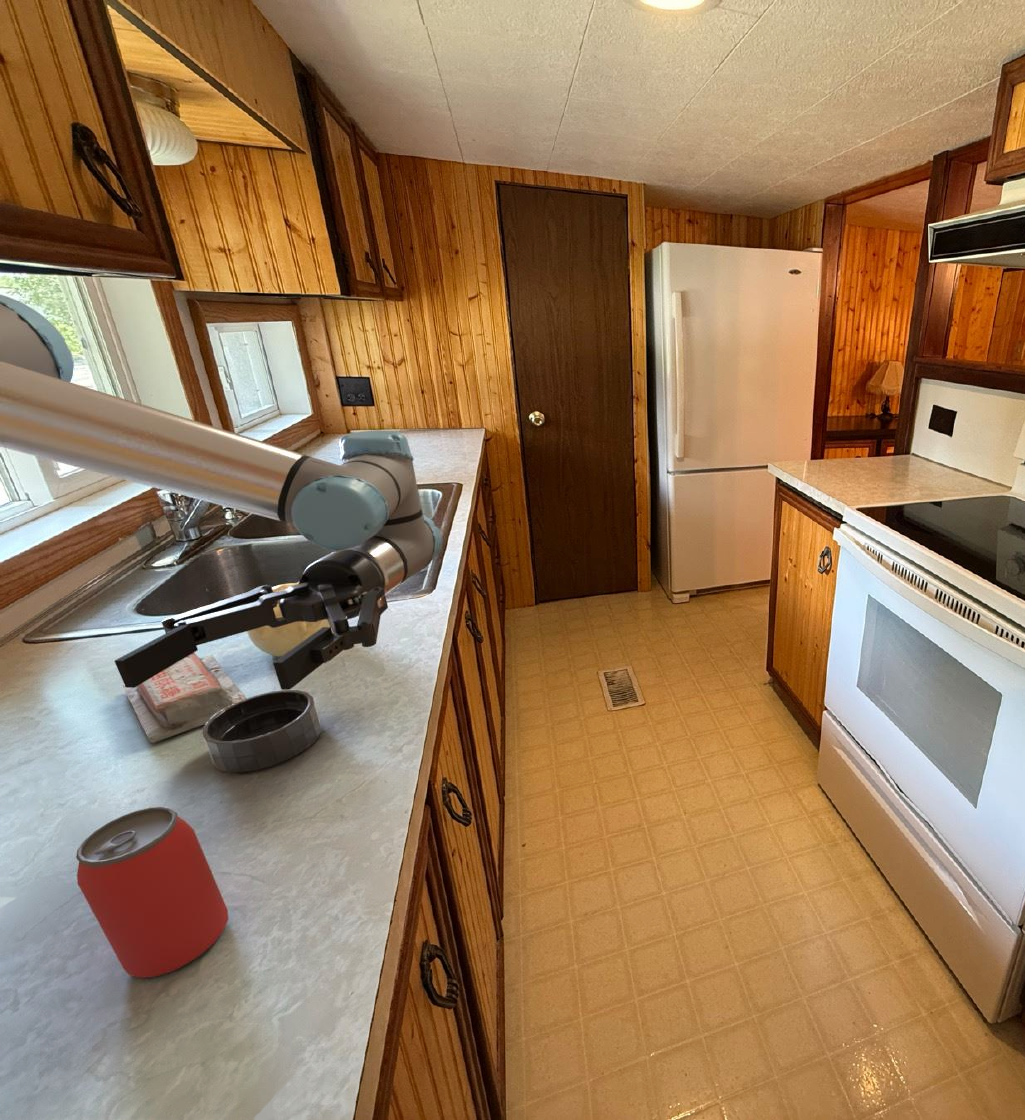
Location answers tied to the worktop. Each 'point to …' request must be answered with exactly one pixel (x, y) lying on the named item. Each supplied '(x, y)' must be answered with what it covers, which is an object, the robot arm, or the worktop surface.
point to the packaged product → (183, 697)
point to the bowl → (262, 730)
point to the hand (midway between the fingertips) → (202, 675)
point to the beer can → (151, 891)
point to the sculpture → (283, 632)
